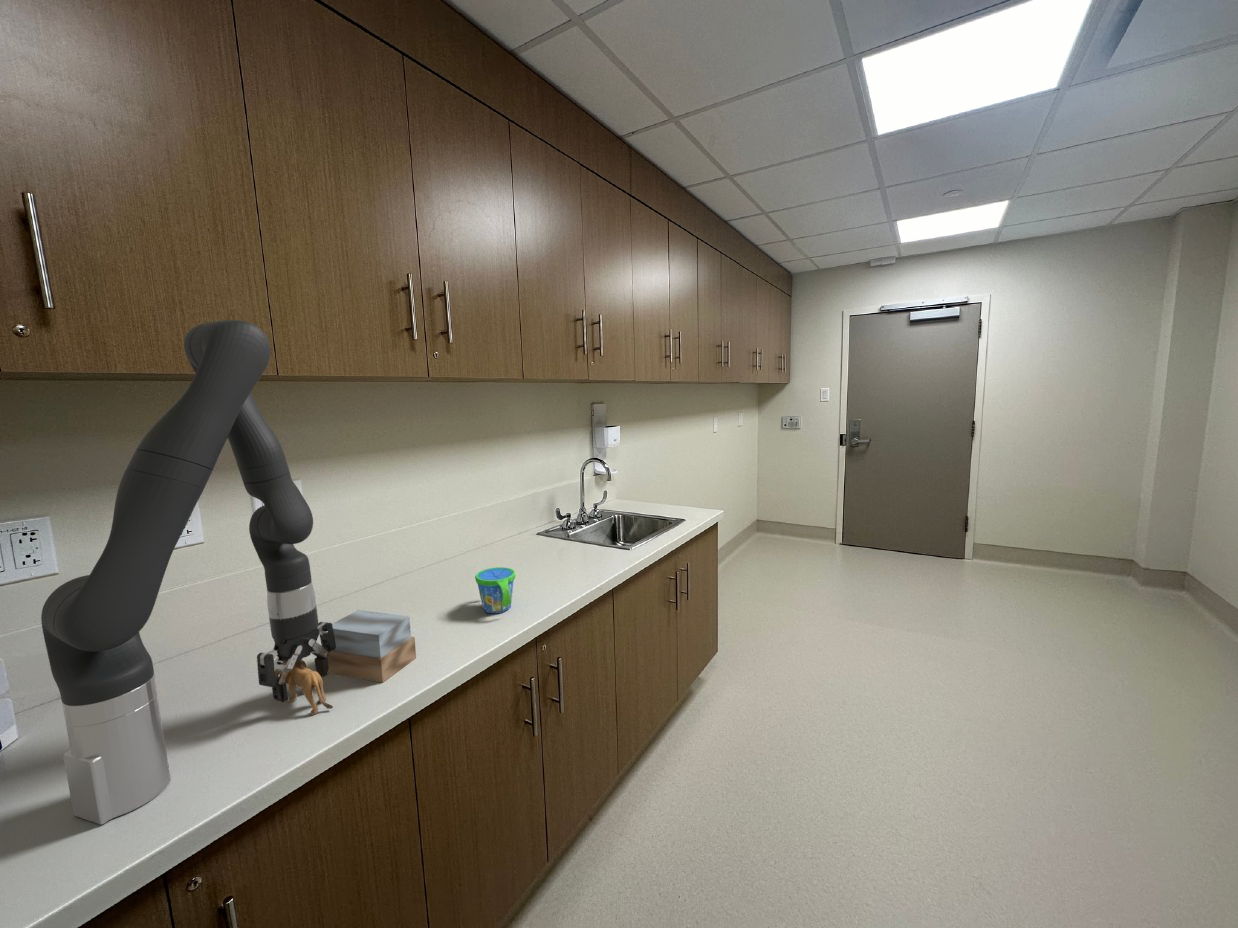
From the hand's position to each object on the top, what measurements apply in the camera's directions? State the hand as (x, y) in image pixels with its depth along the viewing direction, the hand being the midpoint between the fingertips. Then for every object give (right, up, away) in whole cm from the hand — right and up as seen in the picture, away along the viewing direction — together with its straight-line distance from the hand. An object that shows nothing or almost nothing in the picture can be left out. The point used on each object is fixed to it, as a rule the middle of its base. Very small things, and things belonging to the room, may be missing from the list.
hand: (303, 687), depth 95 cm
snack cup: (+28, +3, +40) cm, 49 cm away
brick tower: (+7, -1, +12) cm, 14 cm away
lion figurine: (0, -3, 0) cm, 3 cm away
